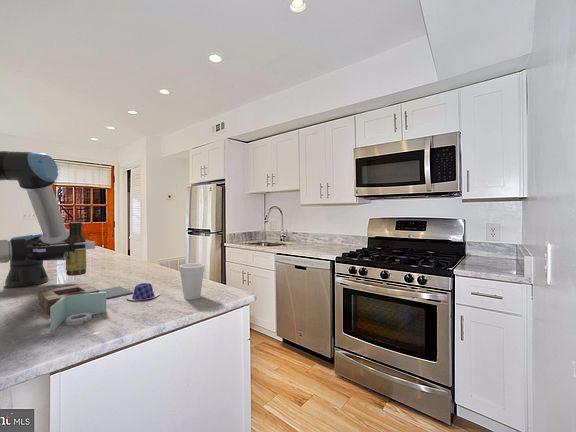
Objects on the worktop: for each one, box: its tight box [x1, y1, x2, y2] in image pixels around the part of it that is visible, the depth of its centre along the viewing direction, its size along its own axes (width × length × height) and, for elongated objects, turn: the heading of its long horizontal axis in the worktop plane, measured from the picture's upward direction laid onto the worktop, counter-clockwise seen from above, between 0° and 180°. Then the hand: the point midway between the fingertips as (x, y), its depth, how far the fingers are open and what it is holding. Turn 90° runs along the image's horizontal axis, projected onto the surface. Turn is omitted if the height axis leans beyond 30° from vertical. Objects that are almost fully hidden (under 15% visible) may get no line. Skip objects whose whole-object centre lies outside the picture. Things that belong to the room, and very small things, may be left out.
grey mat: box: [98, 285, 134, 300], centre depth 120 cm, size 14×12×1 cm
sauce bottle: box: [65, 221, 87, 277], centre depth 108 cm, size 6×6×20 cm
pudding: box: [126, 282, 160, 301], centre depth 116 cm, size 12×12×5 cm
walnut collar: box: [37, 283, 100, 316], centre depth 106 cm, size 15×15×5 cm
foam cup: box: [179, 262, 205, 301], centre depth 115 cm, size 10×9×13 cm
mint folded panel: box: [49, 292, 107, 331], centre depth 91 cm, size 12×12×8 cm
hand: (91, 244), depth 111 cm, fingers closed on sauce bottle, 6 cm apart
